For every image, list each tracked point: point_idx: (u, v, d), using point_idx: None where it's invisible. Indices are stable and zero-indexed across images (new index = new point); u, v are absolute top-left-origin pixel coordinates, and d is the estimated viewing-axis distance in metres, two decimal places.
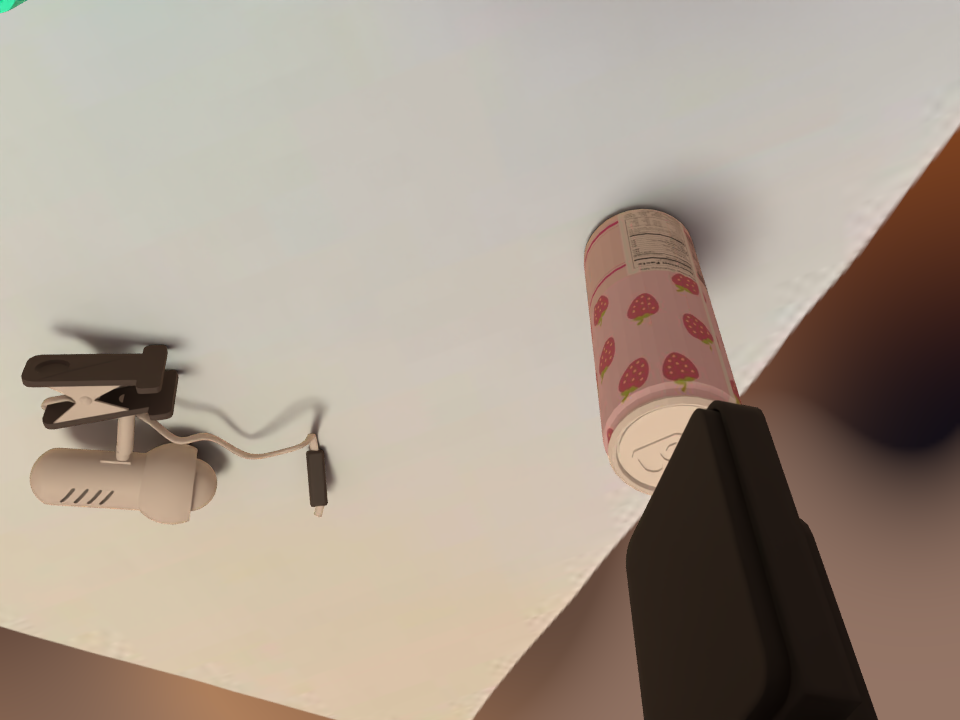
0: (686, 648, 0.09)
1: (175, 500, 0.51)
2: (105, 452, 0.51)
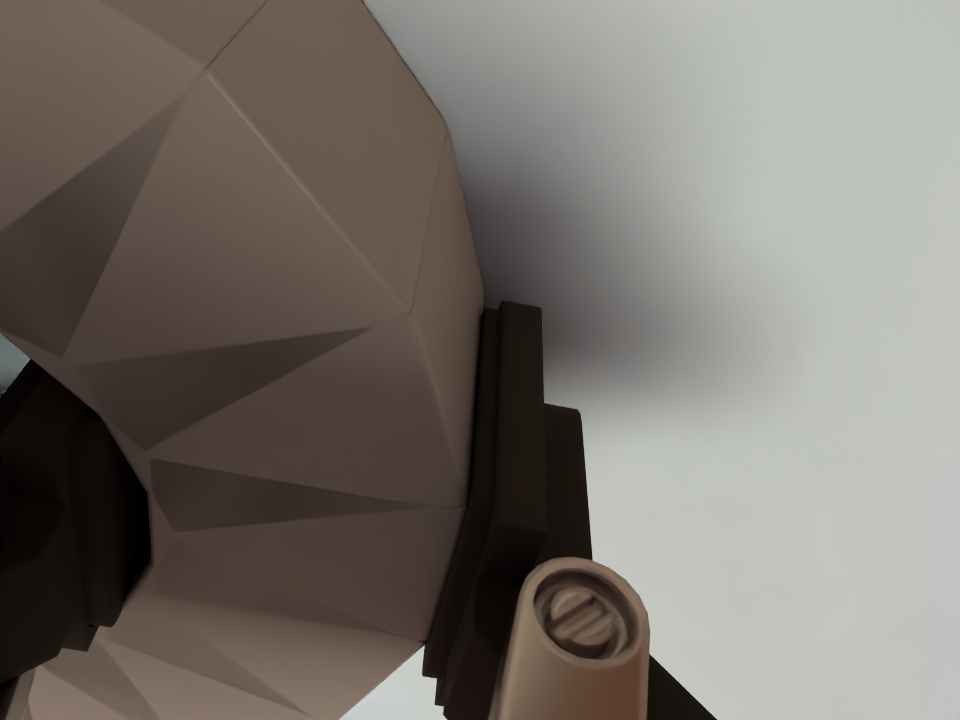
0: None
1: None
2: None
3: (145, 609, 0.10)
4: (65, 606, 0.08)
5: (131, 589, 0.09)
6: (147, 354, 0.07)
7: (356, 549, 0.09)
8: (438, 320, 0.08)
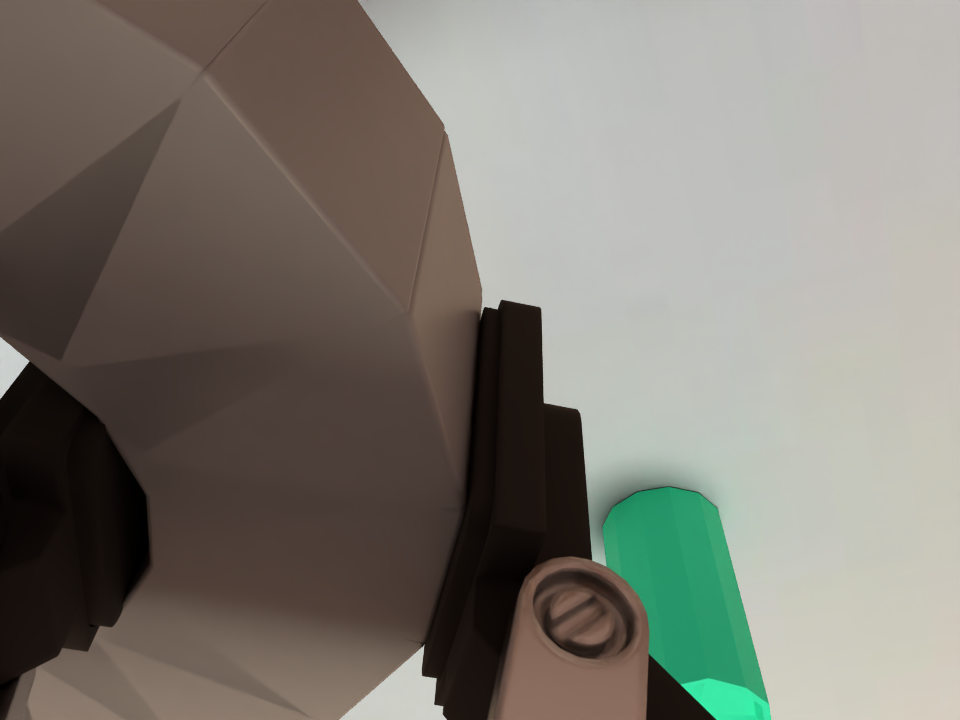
0: None
1: None
2: None
3: (143, 610, 0.10)
4: (65, 607, 0.08)
5: (130, 591, 0.09)
6: (145, 356, 0.07)
7: (354, 550, 0.09)
8: (436, 322, 0.08)
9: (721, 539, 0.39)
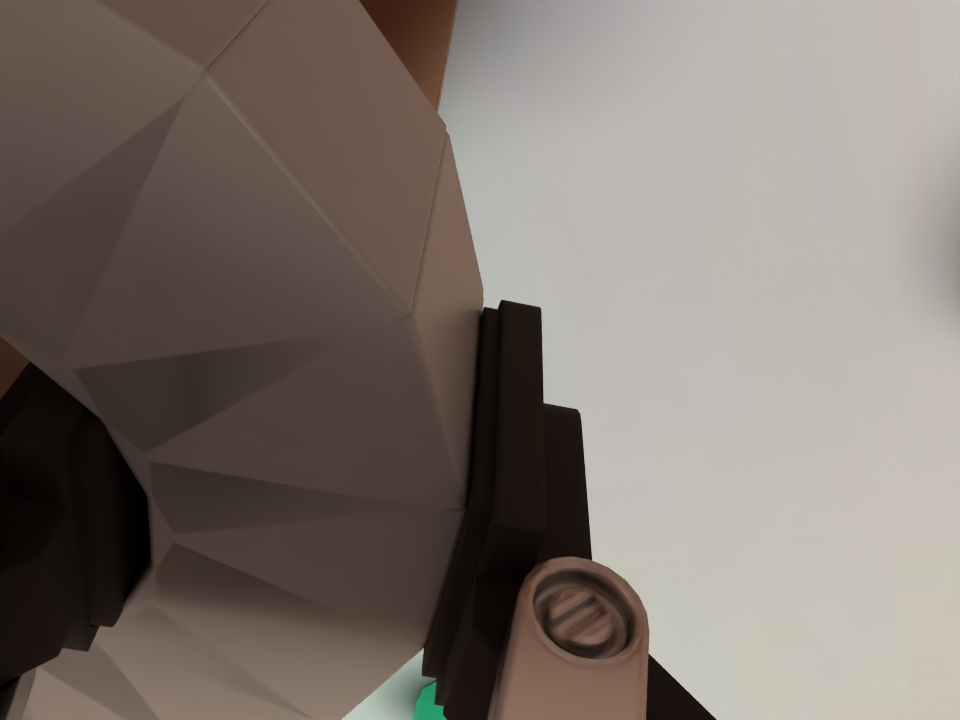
0: None
1: None
2: None
3: (146, 610, 0.10)
4: (66, 607, 0.08)
5: (131, 591, 0.09)
6: (146, 357, 0.07)
7: (356, 551, 0.09)
8: (438, 322, 0.08)
9: None
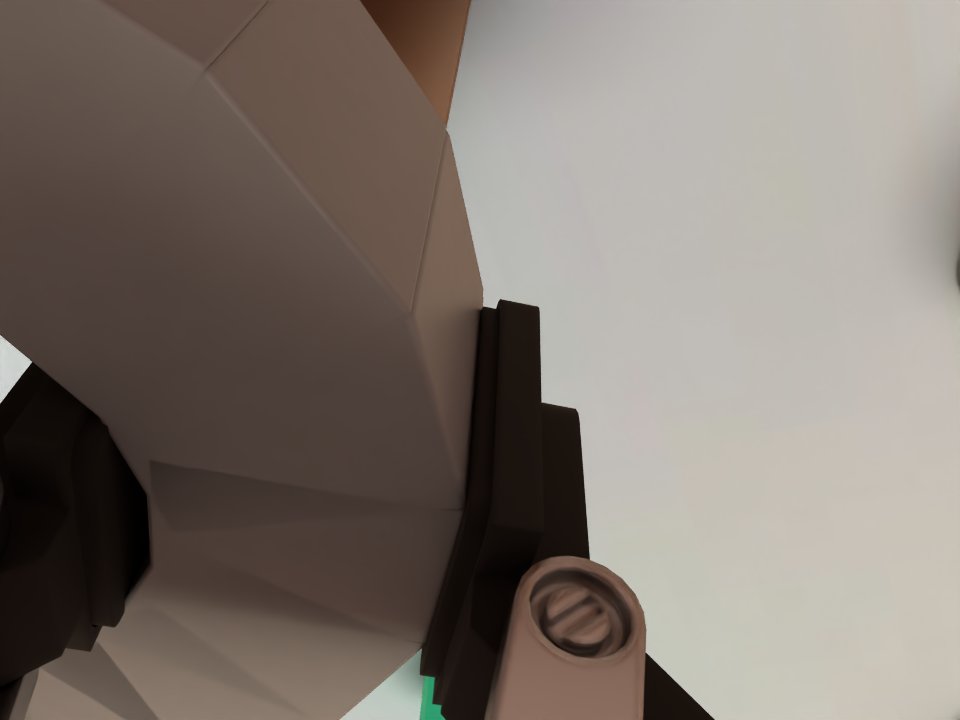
0: None
1: None
2: None
3: (145, 609, 0.10)
4: (68, 607, 0.08)
5: (130, 590, 0.09)
6: (146, 356, 0.07)
7: (355, 551, 0.09)
8: (437, 322, 0.08)
9: None
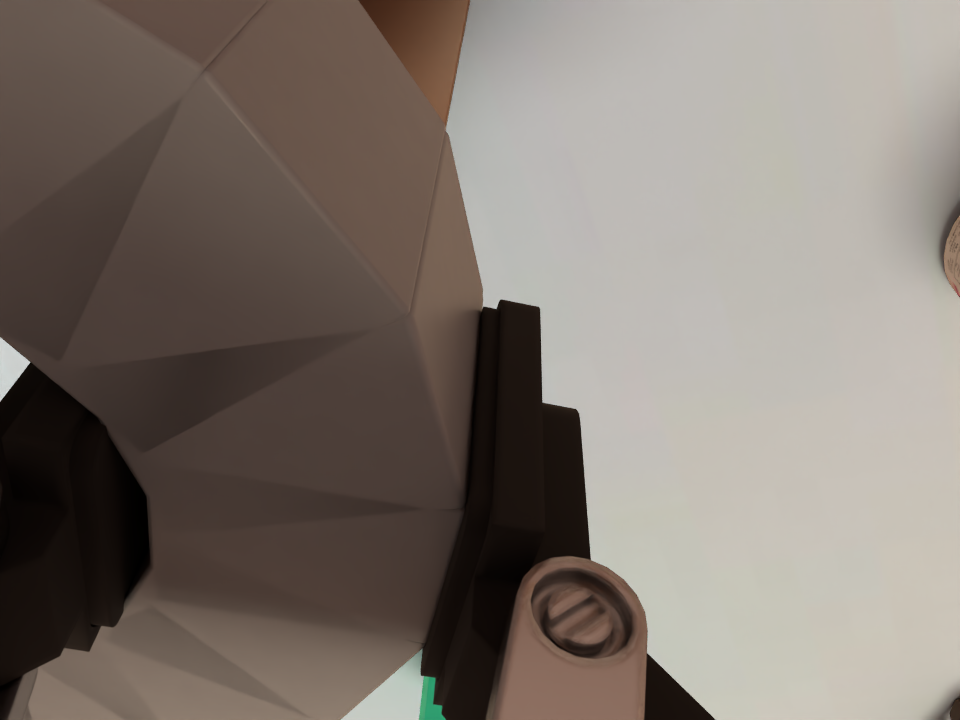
0: None
1: None
2: None
3: (145, 611, 0.10)
4: (67, 607, 0.08)
5: (130, 591, 0.09)
6: (145, 357, 0.07)
7: (355, 551, 0.09)
8: (437, 322, 0.08)
9: None
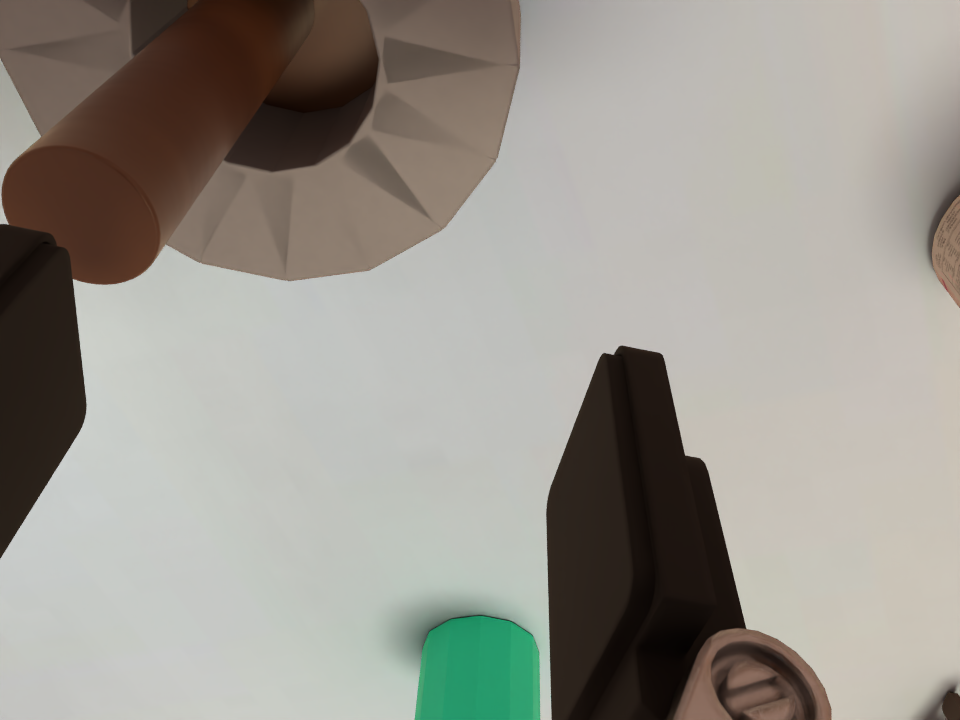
0: (581, 575, 0.09)
1: None
2: None
3: (364, 139, 0.20)
4: None
5: (359, 127, 0.20)
6: None
7: (468, 93, 0.19)
8: None
9: (526, 671, 0.40)
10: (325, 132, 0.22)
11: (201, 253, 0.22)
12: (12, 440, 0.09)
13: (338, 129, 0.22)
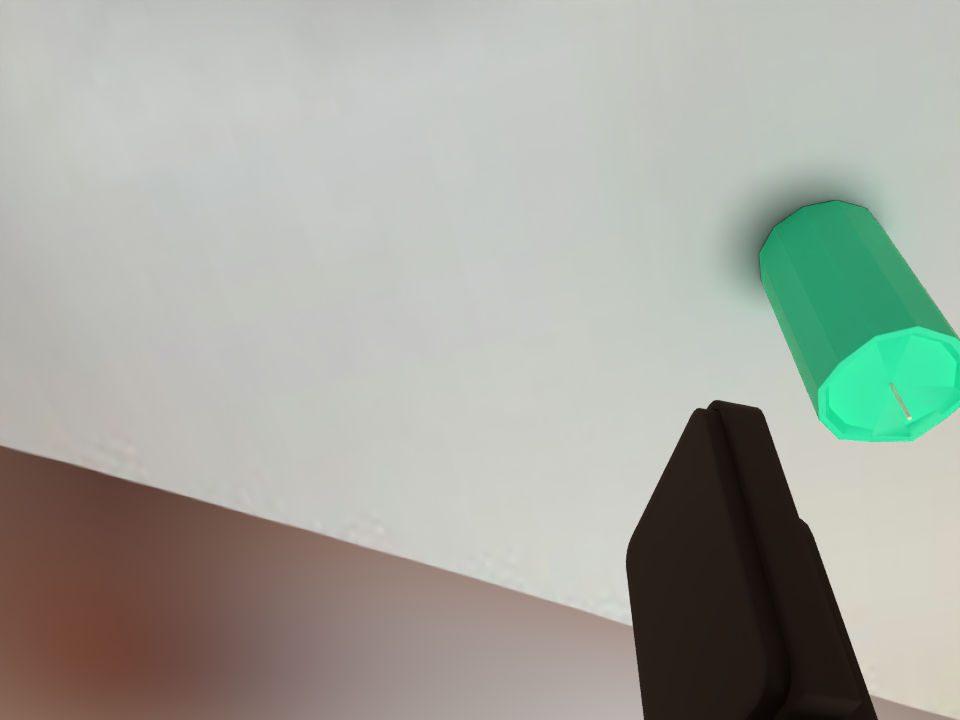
0: (686, 648, 0.09)
1: None
2: None
3: None
4: None
5: None
6: None
7: None
8: None
9: None
10: None
11: None
12: None
13: None
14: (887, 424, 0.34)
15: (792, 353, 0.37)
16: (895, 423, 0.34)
